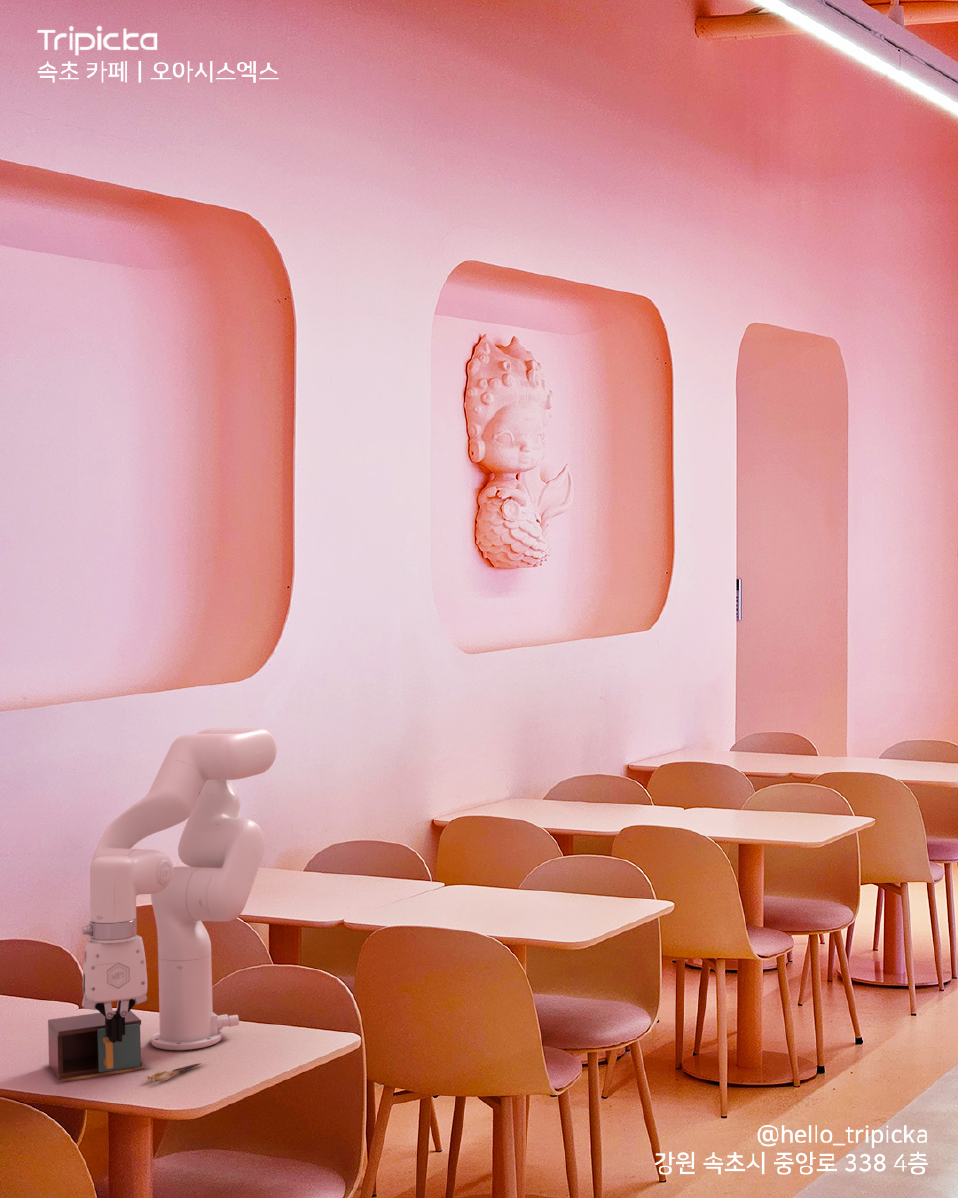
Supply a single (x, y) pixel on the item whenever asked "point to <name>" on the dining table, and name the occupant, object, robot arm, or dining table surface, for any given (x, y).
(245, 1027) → the dining table surface
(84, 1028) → the cupboard
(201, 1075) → the dining table surface
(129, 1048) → the door
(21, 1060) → the dining table surface
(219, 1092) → the dining table surface
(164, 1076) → the tan slender tapered piece
